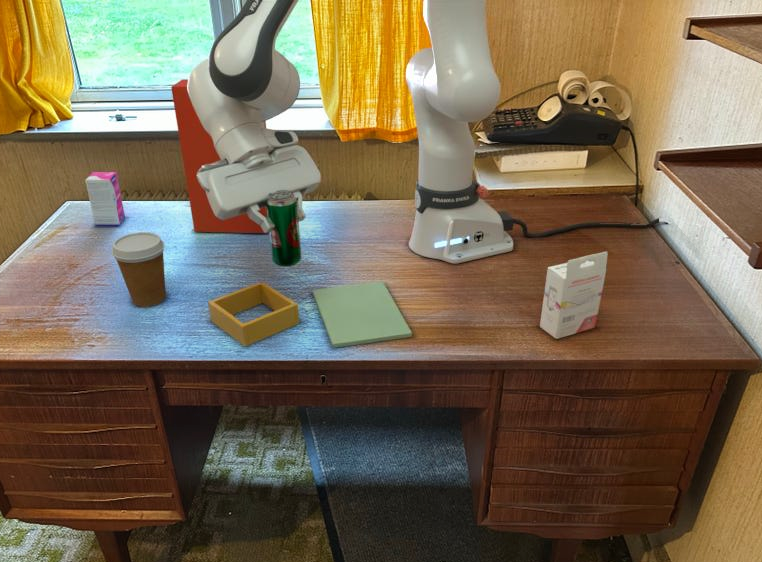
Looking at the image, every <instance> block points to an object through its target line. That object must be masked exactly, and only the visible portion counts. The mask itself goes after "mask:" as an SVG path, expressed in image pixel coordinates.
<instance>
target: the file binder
mask: <svg viewBox="0 0 762 562" xmlns="http://www.w3.org/2000/svg"><path fill="white" fill-rule="evenodd" d="M188 79H189V78H187V79H184V78H183V79H181V80H179V81H177V82H176V83H175V84H173V85H172V86H171V87H170V89H171V95H172V101H173V106H174V114H175V119H176V125H177V132H178V138H179V145H180V150H181V156H182V157H181V158H182V162H183V163H182V164H183V170H184V175H185V181H186V187H187V193H188V201H189V206H190V213H191V218H192V225H193V231H194V232H195V233H196V232H197V233H234V234H235V233H237V234H240V233H241V234H265V233H264V231H263V229H262V228H261V226H260V225H259V224H257V223H256V222H254V221H253V220H251V219H250V218H249V217H248V215H247V213H244V214H241V215H238V216H235V217H232V218H228V219H225V220H221V219H219V218H218V217H216V216H215V214H214V212H213V210H212V208H211V206H210V203H209V200H208V198H207V195H206V191H205V190H204V189H203V188H202V187H201V185H200V183H199V181H198V179H197V172H198V171H199V169H201V166H203V165H205V164H212V163H214V162H217V161H220V160H221V159H220V157H219V155H218V153H217V152H216V150H215V147H214V143H213V140H212V137H211V136H210V134H209V133H208V132H207V131H206V130H205V129H204V127H203V126H202V124H201V122H200V120H199V118H198V116H197V114H196V112H195V109H194V107H193V105H192V102H191V100H190V97H189V93H188ZM266 122H267V120H266V121H264V122H261V124H262V126H263V128H267V123H266ZM201 172H202V171H201ZM259 213H260V214H262V215H263V216H264V217H265V218H267V209H266V207H263V208H260V210H259ZM267 219H268V218H267ZM267 234H269V232H268V233H267Z"/></svg>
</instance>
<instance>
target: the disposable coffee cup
mask: <svg viewBox="0 0 762 562" xmlns="http://www.w3.org/2000/svg"><path fill="white" fill-rule="evenodd" d="M165 247H166V245H165V242H164V241H163V240H162V239H161V236H160V235H159V234H157V233H155V232H149V231H148V232H147V231H141V232H132V233H127V234H124V235H123V236H120V237H118V238H116V239H115V240H114V241H113V242H112V249H111V251H110V252H111V255H112V256H113V258H114V259H115V260H116V262H117V265H118V268H119V270H120V273H121V275H122V278H123V280H124V283H125V286H126V289H127V291H128V293H129V296H130V298H131V301H132V304H133V305H134V306H137V307H141V308H146V307H153V306H156V305H159V304H161V303H163V302H164V301H166V298H167V293H166V277H165V258H164V250H165Z"/></svg>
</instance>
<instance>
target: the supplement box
mask: <svg viewBox="0 0 762 562" xmlns="http://www.w3.org/2000/svg"><path fill="white" fill-rule="evenodd" d="M84 181H85V186H86V190H87V195H88V199H89V203H90V208H91V212H92V217H93V221H94V226H95V227H96V228H101V227H102V228H103V227H105V228H106V227H109V228H113V227H119V226H120V225H121V223H122V222H123V221H124V220H125V218H126V214H125V209H124V205H123V199H122V195H121V194H122V193H121V190H120V185H119V180H118V174H117V172H115V171H105V172H104V171H99V172H98V171H93V172H92V173H91V174H90V175H89V176H88V177H86V179H84Z"/></svg>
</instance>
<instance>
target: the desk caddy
mask: <svg viewBox="0 0 762 562" xmlns="http://www.w3.org/2000/svg"><path fill="white" fill-rule="evenodd" d="M261 304H264V305H266V306H267V307H268V308H270V309H271V310H273V311H272V312H269V313H266V314H264V315H261V316H259V317H257V318H255V319H252V320H249V321H247V322H244V323H243V322H242V321H241V320H239V319H238V318H236V317H235V316H234V315H237V314H238V313H241V312H244V311H246V310H248V309H251V308H254V307H257V306H259V305H261ZM207 306H208V312H209V317H210V322H212V324H214V325H216V326H217V327H218V328H219V329H220V330H222V331H223V332H225V333H226V334H228V335H229V336H230V337H231V338H232V339H234V340H235V341H236V342H238V343H239V344H241V345H242V346H243V347H245V348H246V347H248V346H250V345H252V344H255V343H257V342H260V341H262V340H264V339H267V338H269V337H271V336H273V335H276V334H278V333H281V332H283V331H285V330H287V329H290V328H292V327H294V326H297V325H299V324H300V323H301V322H300V312H299V310H300V309H299V303H297V302H295V301H294V300H292V299H291V298H289V297H288V296H286V295H284V294H282V293H281V292H279V291H278V290H276V289H275V288H273V287H271V286H270V285H268V284H266V283H265V282H263V281H260V282H257V283H255V284H252V285H249V286H247V287H244V288H241V289H239V290H236V291H232V292H230V293H228V294H225V295H223V296H220V297H217V298H215V299H212V300H209V301H207Z"/></svg>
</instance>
